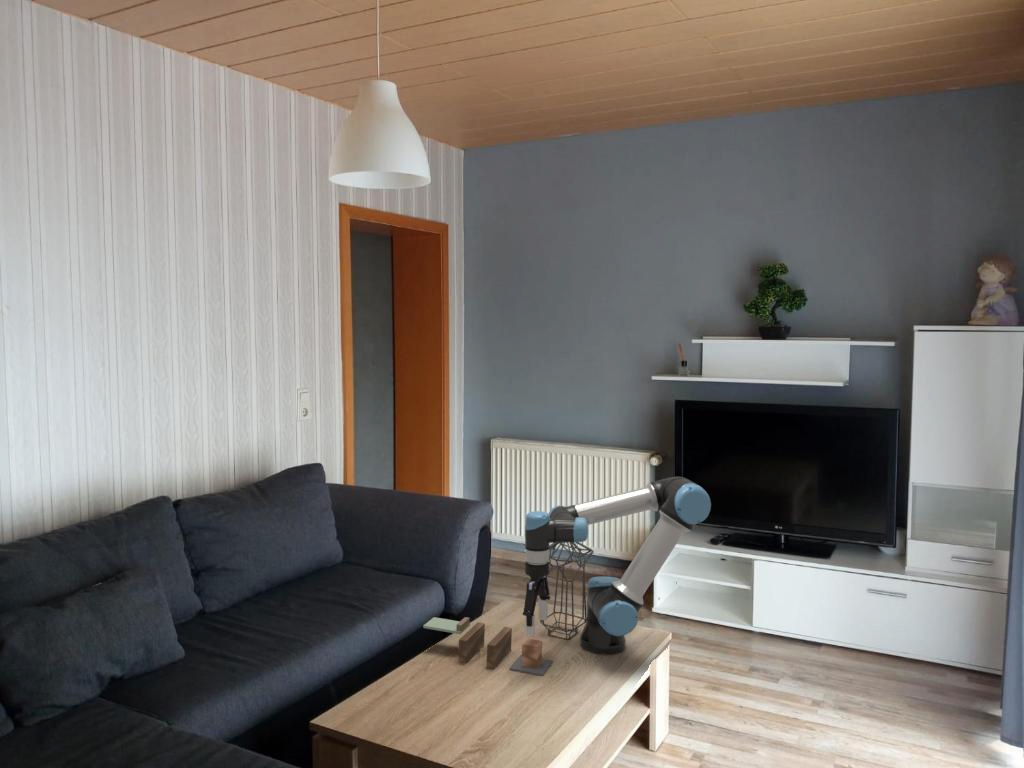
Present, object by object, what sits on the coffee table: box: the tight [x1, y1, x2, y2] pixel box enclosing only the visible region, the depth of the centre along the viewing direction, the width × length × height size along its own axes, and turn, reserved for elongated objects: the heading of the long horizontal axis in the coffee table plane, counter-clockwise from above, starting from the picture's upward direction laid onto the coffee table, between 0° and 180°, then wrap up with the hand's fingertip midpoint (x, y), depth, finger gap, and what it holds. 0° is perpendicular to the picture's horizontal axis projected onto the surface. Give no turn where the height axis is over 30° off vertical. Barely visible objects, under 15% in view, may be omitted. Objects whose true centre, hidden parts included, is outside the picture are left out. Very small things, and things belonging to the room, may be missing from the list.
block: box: [521, 638, 543, 669], centre depth 257 cm, size 5×5×7 cm
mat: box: [508, 654, 554, 677], centre depth 257 cm, size 11×11×1 cm
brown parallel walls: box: [457, 621, 513, 670], centre depth 263 cm, size 12×16×8 cm
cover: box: [422, 616, 471, 635], centre depth 267 cm, size 13×8×3 cm, turn 71°
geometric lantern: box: [539, 542, 594, 640], centre depth 282 cm, size 16×16×35 cm
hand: (536, 627), depth 258 cm, fingers open, 13 cm apart
